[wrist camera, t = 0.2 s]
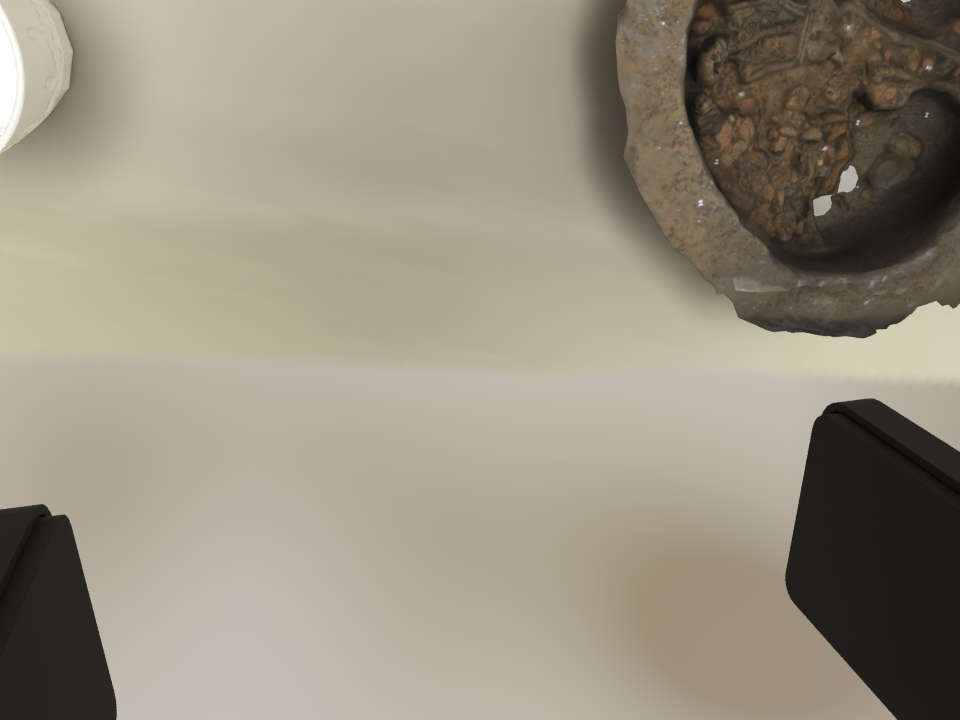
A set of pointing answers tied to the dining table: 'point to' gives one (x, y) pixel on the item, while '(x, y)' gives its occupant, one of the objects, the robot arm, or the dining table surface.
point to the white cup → (30, 66)
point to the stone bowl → (801, 151)
